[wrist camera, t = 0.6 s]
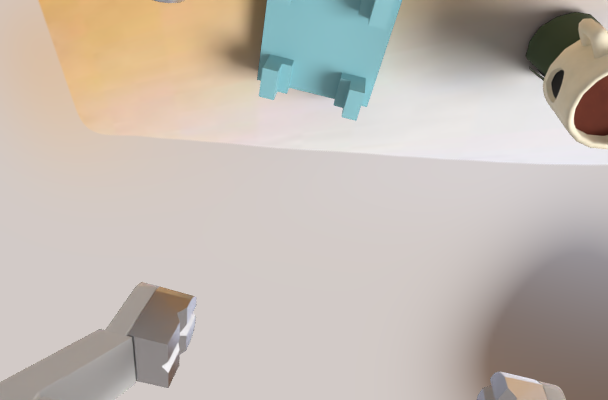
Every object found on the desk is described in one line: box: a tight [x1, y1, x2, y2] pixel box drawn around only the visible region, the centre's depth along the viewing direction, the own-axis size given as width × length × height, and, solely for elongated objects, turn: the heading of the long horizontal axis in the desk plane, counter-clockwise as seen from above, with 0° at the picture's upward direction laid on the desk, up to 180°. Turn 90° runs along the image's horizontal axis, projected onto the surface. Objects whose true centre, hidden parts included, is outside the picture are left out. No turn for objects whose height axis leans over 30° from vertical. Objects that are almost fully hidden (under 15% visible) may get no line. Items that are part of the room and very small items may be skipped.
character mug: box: [526, 12, 608, 149], centre depth 34 cm, size 11×7×13 cm, turn 32°
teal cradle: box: [257, 0, 402, 120], centre depth 39 cm, size 12×12×6 cm
